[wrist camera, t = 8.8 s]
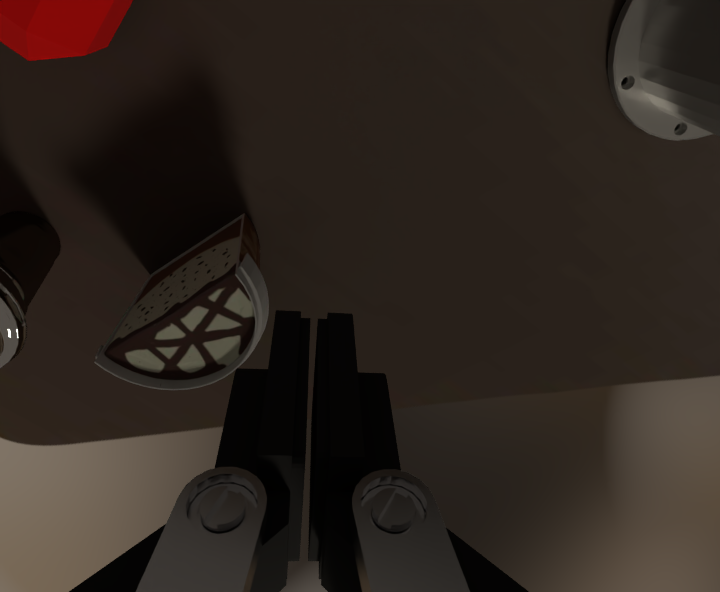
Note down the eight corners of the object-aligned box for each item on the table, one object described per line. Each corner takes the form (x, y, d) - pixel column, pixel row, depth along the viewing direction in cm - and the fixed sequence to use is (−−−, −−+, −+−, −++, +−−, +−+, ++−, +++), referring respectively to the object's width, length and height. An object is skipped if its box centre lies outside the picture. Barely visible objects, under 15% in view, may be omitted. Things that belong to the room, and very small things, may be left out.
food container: (189, 335, 44) (158, 423, 36) (135, 283, 41) (87, 366, 33) (309, 263, 41) (306, 340, 33) (260, 202, 38) (243, 269, 30)
